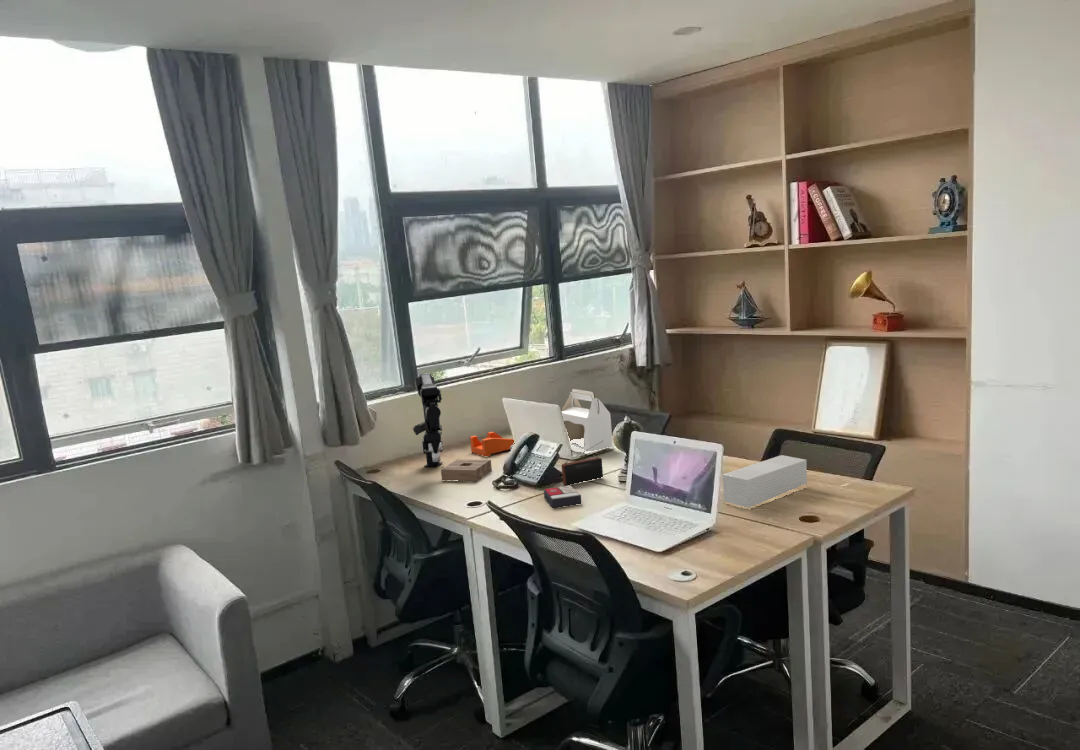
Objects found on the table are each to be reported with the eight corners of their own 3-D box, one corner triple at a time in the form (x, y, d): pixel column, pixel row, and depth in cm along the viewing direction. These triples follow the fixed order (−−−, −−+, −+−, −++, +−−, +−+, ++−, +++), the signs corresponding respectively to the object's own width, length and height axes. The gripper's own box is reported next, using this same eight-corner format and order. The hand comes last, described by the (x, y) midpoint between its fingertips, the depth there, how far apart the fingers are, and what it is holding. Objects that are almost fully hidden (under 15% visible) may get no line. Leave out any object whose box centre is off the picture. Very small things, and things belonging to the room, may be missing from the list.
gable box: (561, 448, 365) (557, 390, 360) (584, 443, 372) (579, 385, 368) (590, 456, 346) (586, 394, 342) (613, 450, 353) (609, 390, 349)
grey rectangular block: (782, 483, 286) (781, 455, 285) (807, 488, 277) (806, 459, 276) (724, 504, 268) (722, 474, 266) (748, 511, 259) (747, 480, 258)
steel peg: (434, 459, 331) (432, 441, 330) (445, 459, 329) (444, 441, 328) (427, 462, 326) (425, 445, 325) (439, 462, 324) (437, 445, 323)
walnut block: (458, 470, 341) (457, 459, 340) (491, 470, 335) (490, 459, 334) (442, 480, 326) (440, 469, 325) (476, 481, 320) (475, 470, 320)
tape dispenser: (485, 457, 360) (484, 440, 359) (471, 453, 370) (469, 436, 369) (517, 449, 371) (515, 432, 370) (502, 446, 381) (501, 429, 380)
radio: (566, 486, 303) (563, 449, 301) (563, 485, 306) (560, 448, 304) (608, 478, 310) (605, 441, 308) (604, 476, 313) (601, 440, 311)
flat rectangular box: (571, 484, 294) (581, 493, 279) (572, 495, 295) (582, 505, 280) (543, 488, 292) (551, 497, 277) (544, 499, 293) (552, 509, 278)
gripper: (414, 413, 334) (418, 448, 336) (411, 421, 315) (415, 459, 317) (440, 410, 334) (443, 445, 337) (438, 419, 316) (442, 456, 318)
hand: (435, 451), depth 327 cm, fingers closed on steel peg, 6 cm apart
